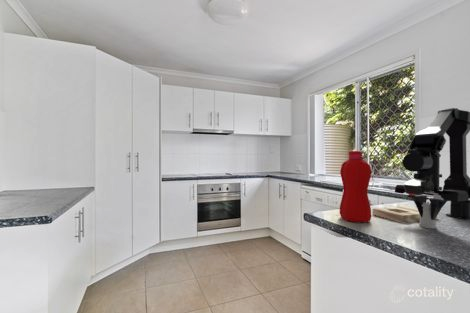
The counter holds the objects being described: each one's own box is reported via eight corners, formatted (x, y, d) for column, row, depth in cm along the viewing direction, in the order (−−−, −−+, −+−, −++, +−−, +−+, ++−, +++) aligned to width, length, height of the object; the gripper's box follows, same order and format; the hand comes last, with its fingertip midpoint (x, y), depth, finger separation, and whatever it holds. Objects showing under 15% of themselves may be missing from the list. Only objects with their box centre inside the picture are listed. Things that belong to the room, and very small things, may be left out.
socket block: (404, 211, 100) (404, 205, 100) (437, 218, 88) (437, 212, 88) (372, 214, 94) (372, 208, 94) (402, 222, 82) (402, 215, 82)
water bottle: (379, 223, 81) (380, 150, 81) (347, 223, 82) (347, 150, 82) (366, 217, 90) (367, 151, 90) (337, 216, 91) (337, 151, 91)
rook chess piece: (439, 229, 75) (440, 204, 75) (423, 228, 76) (424, 203, 76) (431, 225, 79) (431, 201, 79) (416, 224, 80) (416, 201, 80)
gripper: (383, 169, 84) (383, 213, 84) (445, 173, 66) (445, 229, 66) (405, 169, 88) (405, 211, 87) (469, 172, 70) (469, 225, 70)
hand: (427, 218), depth 78 cm, fingers closed on rook chess piece, 3 cm apart
